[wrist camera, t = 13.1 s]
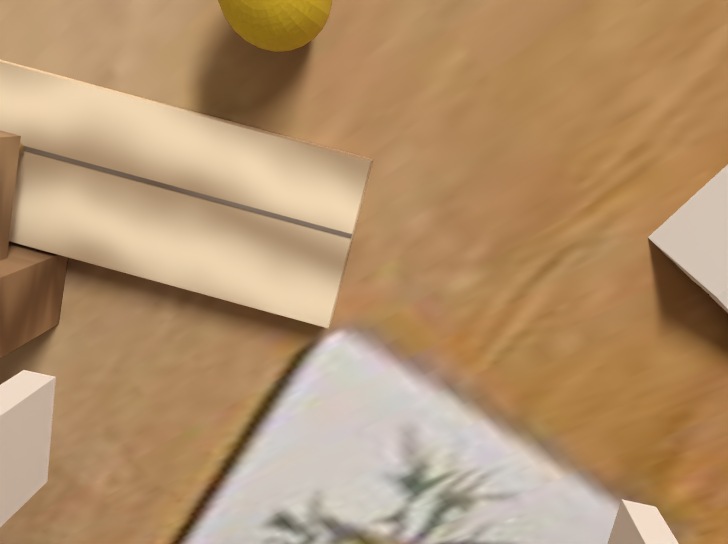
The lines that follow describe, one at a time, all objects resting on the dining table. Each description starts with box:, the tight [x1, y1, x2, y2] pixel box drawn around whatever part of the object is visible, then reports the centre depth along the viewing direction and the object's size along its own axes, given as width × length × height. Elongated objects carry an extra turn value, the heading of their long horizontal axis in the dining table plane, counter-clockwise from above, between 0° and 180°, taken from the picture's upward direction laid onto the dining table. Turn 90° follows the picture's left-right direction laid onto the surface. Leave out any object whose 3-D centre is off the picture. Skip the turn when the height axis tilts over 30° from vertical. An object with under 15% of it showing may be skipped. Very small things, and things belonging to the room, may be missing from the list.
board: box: [0, 60, 373, 328], centre depth 38 cm, size 10×23×2 cm, turn 76°
